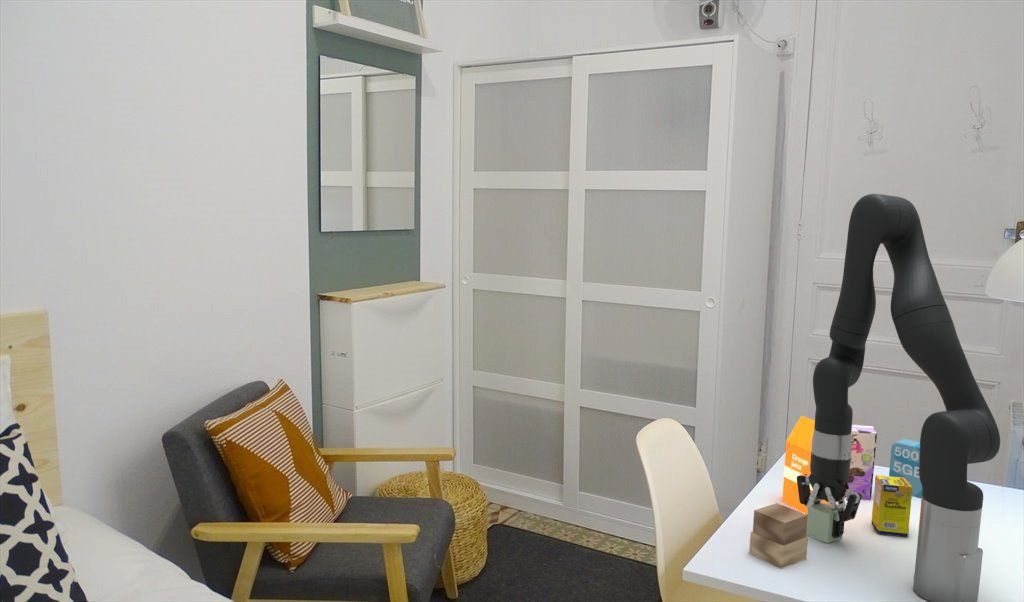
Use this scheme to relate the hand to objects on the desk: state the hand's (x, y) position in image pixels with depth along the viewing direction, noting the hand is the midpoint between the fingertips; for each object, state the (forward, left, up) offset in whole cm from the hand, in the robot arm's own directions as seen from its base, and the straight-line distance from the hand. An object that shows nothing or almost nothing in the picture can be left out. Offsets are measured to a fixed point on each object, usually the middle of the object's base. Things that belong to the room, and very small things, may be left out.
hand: (824, 531), depth 162 cm
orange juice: (+12, -11, -1) cm, 16 cm away
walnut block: (-1, +16, +3) cm, 16 cm away
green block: (0, 0, -1) cm, 1 cm away
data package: (+4, -41, -1) cm, 41 cm away
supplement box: (-5, -15, -1) cm, 16 cm away
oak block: (-1, +16, -1) cm, 16 cm away
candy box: (+14, -25, -1) cm, 29 cm away
